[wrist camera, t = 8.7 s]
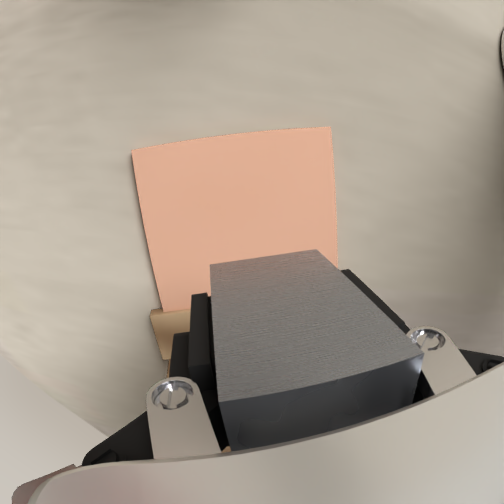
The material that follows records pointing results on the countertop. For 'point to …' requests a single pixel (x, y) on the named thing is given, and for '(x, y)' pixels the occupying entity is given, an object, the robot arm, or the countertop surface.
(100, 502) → the robot arm
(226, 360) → the metal block
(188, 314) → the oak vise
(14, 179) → the countertop surface
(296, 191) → the terracotta tile
